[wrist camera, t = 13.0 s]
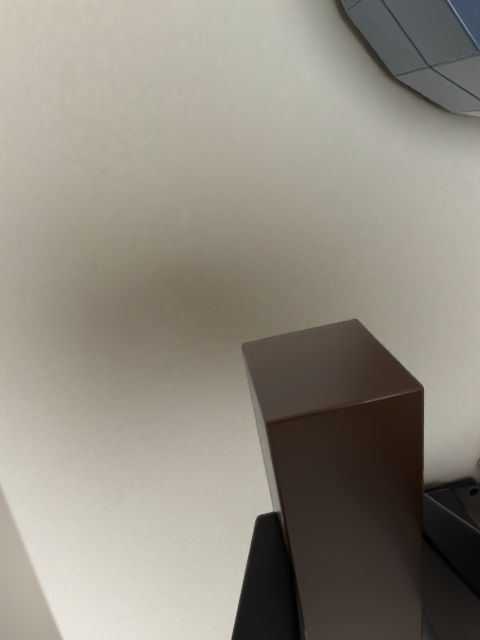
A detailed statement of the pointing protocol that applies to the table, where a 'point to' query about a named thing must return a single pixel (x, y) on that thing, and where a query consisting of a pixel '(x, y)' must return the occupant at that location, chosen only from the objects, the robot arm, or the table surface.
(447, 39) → the bowl
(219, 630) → the table surface
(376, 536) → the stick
